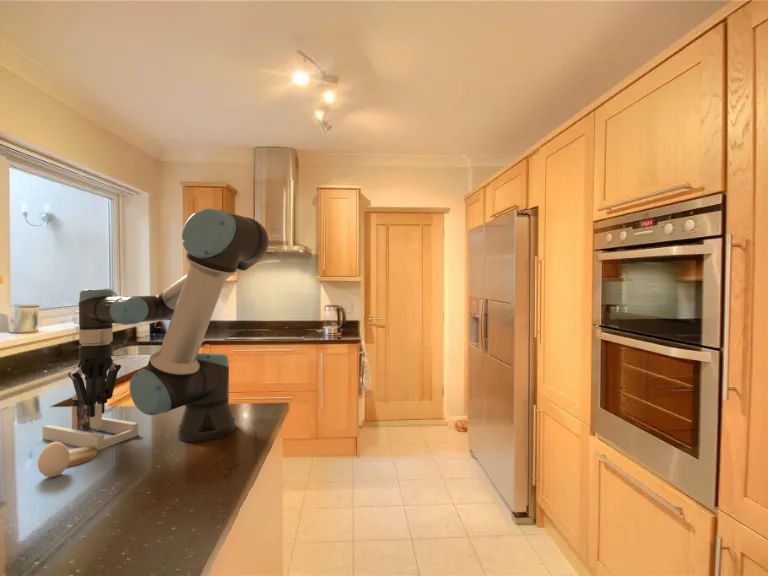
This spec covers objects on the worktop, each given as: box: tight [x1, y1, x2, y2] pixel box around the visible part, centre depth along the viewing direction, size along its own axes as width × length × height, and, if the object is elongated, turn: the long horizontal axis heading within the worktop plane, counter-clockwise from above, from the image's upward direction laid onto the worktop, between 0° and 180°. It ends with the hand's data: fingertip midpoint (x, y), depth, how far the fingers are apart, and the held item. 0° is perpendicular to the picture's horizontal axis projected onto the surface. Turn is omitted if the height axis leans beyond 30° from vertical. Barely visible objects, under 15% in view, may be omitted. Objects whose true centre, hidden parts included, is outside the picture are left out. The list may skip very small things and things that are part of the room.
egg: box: [37, 441, 70, 478], centre depth 85 cm, size 5×5×8 cm
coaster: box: [66, 447, 98, 468], centre depth 93 cm, size 10×10×1 cm
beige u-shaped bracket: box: [42, 416, 139, 451], centre depth 107 cm, size 23×11×4 cm, turn 70°
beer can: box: [71, 393, 94, 433], centre depth 109 cm, size 5×5×12 cm
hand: (95, 426), depth 107 cm, fingers closed
